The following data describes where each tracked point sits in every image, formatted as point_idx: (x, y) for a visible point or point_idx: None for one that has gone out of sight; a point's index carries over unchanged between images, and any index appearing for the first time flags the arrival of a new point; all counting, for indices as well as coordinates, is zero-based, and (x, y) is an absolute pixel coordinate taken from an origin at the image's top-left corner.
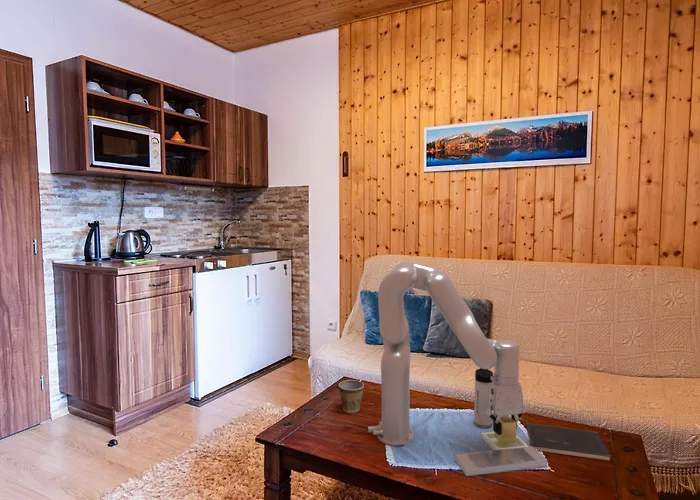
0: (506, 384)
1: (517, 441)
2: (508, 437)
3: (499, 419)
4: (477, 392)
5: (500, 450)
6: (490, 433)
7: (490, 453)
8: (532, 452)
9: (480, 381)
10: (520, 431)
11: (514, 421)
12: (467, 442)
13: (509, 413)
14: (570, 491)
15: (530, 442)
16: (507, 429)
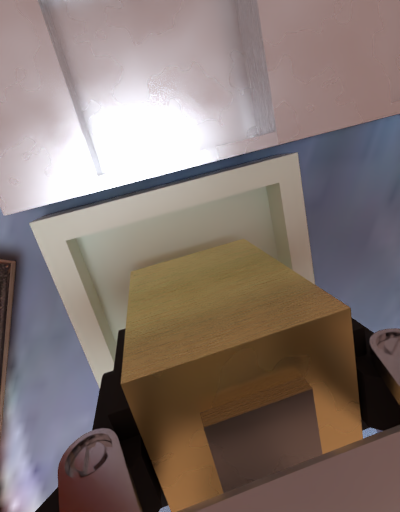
0: None
1: (104, 322)
2: (202, 269)
3: (396, 372)
4: None
5: (292, 127)
6: None
7: (379, 78)
8: (21, 101)
9: None
10: (48, 464)
11: (146, 400)
12: (389, 296)
13: (360, 497)
14: None
15: (5, 309)
16: (236, 295)
